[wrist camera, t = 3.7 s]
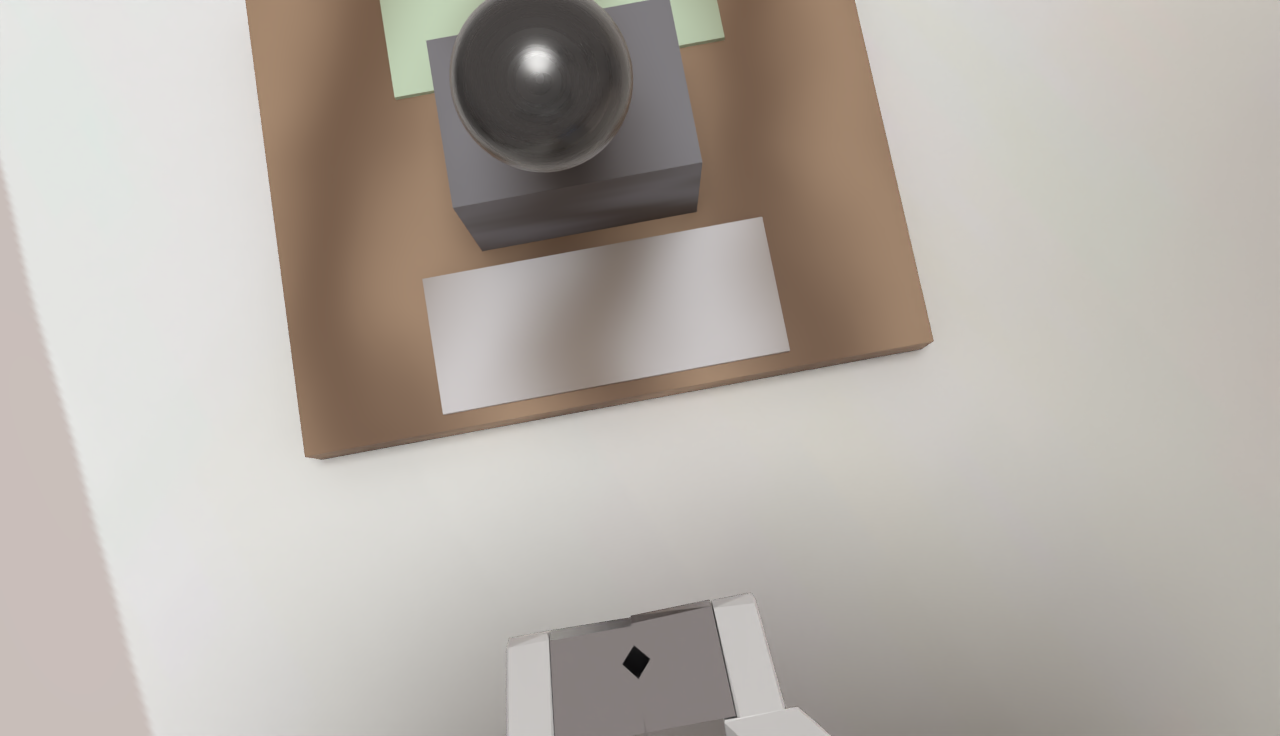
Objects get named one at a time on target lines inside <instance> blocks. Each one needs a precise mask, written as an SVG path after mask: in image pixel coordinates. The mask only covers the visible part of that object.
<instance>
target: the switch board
mask: <svg viewBox="0 0 1280 736" xmlns="http://www.w3.org/2000/svg"><path fill="white" fill-rule="evenodd" d="M245 1H246V9H247V16H248V24H249V32H250V39H251V47H252V55H253V62H254V70H255V77H256V85H257V93H258V100H259V108H260V116H261V123H262V131H263V139H264V146H265V154H266V162H267V169H268V177H269V185H270V192H271V200H272V208H273V215H274V223H275V231H276V238H277V246H278V254H279V261H280V269H281V277H282V284H283V292H284V300H285V307H286V315H287V323H288V330H289V338H290V346H291V353H292V361H293V369H294V376H295V384H296V392H297V399H298V407H299V415H300V422H301V430H302V437H303V445H304V453H305V457H309V458H315V459H327V458H332V457H338V456H343V455H349V454H354V453H359V452H365V451H370V450H376V449H381V448H387V447H392V446H397V445H403V444H408V443H414V442H419V441H425V440H430V439H435V438H441V437H446V436H452V435H457V434H463V433H468V432H473V431H479V430H484V429H490V428H495V427H501V426H506V425H511V424H517V423H522V422H528V421H533V420H539V419H544V418H549V417H555V416H560V415H566V414H571V413H577V412H582V411H587V410H593V409H598V408H604V407H609V406H615V405H620V404H625V403H631V402H636V401H642V400H647V399H652V398H658V397H663V396H669V395H674V394H680V393H685V392H690V391H696V390H701V389H707V388H712V387H718V386H723V385H728V384H734V383H739V382H745V381H750V380H756V379H761V378H766V377H772V376H777V375H783V374H788V373H794V372H799V371H804V370H810V369H815V368H821V367H826V366H832V365H837V364H842V363H848V362H853V361H859V360H864V359H870V358H875V357H880V356H886V355H891V354H897V353H902V352H908V351H913V350H918V349H922V348H923V347H925V346H927V345H928V344H930V343H931V342H933V341H934V340H933V336H932V332H931V328H930V323H929V319H928V315H927V310H926V306H925V302H924V297H923V293H922V289H921V284H920V280H919V276H918V271H917V267H916V263H915V259H914V254H913V250H912V246H911V241H910V237H909V233H908V228H907V224H906V220H905V215H904V211H903V207H902V202H901V198H900V194H899V190H898V185H897V181H896V177H895V172H894V168H893V164H892V159H891V155H890V151H889V146H888V142H887V138H886V133H885V129H884V125H883V121H882V116H881V112H880V108H879V103H878V99H877V95H876V90H875V86H874V82H873V77H872V73H871V69H870V64H869V60H868V56H867V51H866V47H865V43H864V39H863V34H862V30H861V26H860V21H859V17H858V13H857V8H856V4H855V0H594V1H595V2H596V3H597V4H598V5H599V6H601V7H602V8H603V9H604V10H605V11H606V12H607V13H608V15H609V16H610V17H611V18H612V19H613V21H614V22H615V24H616V25H617V26H618V28H619V30H620V32H621V33H622V35H623V37H624V39H625V42H626V45H627V47H628V50H629V53H630V58H631V62H632V69H633V91H632V98H631V103H630V106H629V110H628V113H627V115H626V118H625V120H624V122H623V124H622V126H621V128H620V129H619V131H618V133H617V134H616V136H615V137H614V138H613V139H612V141H611V142H610V143H609V144H608V145H607V146H606V147H605V148H604V149H603V150H602V151H601V152H600V153H598V154H597V155H596V156H594V157H593V158H591V159H590V160H588V161H586V162H584V163H583V164H581V165H578V166H576V167H573V168H570V169H566V170H562V171H557V172H549V173H545V172H531V171H524V170H521V169H517V168H514V167H511V166H509V165H507V164H505V163H502V162H501V161H499V160H497V159H496V158H494V157H492V156H491V155H490V154H488V153H487V152H486V151H485V150H483V149H482V148H481V147H480V146H479V145H478V144H477V143H476V142H475V141H474V140H473V138H472V137H471V136H470V134H469V133H468V132H467V131H466V129H465V127H464V125H463V124H462V122H461V120H460V118H459V116H458V114H457V111H456V109H455V106H454V102H453V99H452V95H451V88H450V75H449V70H450V60H451V55H452V51H453V46H454V44H455V41H456V38H457V36H458V34H459V32H460V30H461V28H462V26H463V24H464V23H465V21H466V20H467V19H468V17H469V16H470V14H471V13H472V12H473V11H474V10H475V9H476V8H477V7H478V6H479V5H480V4H481V3H482V2H484V1H485V0H245Z"/></svg>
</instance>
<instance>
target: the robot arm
mask: <svg viewBox="0 0 1280 736" xmlns="http://www.w3.org/2000/svg"><path fill="white" fill-rule="evenodd" d="M506 736H831V735H830V734H829V733H828V732H826V731H825V730H824V729H823V728H822V727H821V726H820V725H818V724H817V723H816V722H815V721H814V720H813V719H812V718H810V717H809V716H808V715H807V714H806V713H805V712H804V711H802V710H801V709H800V708H799V707H791V708H785V704H784V701H783V697H782V693H781V690H780V686H779V682H778V679H777V675H776V671H775V668H774V664H773V661H772V657H771V653H770V650H769V646H768V642H767V639H766V635H765V631H764V628H763V624H762V620H761V617H760V613H759V609H758V606H757V602H756V599H755V598H754V596H753V595H752V593H747V594H741V595H736V596H731V597H726V598H721V599H715V600H712V601H711V602H710V600H706V601H701V602H696V603H691V604H686V605H681V606H676V607H671V608H666V609H661V610H657V611H652V612H647V613H642V614H637V615H632V616H631V617H630V618H624V619H618V620H612V621H605V622H599V623H593V624H587V625H581V626H575V627H569V628H563V629H556V630H551V631H545V632H540V633H534V634H529V635H523V636H517V637H512V638H509V641H508V645H507V649H506Z"/></svg>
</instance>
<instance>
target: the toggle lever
mask: <svg viewBox="0 0 1280 736" xmlns="http://www.w3.org/2000/svg"><path fill="white" fill-rule="evenodd" d="M449 75H450V88H451V95H452V99H453V102H454V106H455V109H456V111H457V114H458V116H459V118H460V120H461V122H462V124H463V125H464V127H465V129H466V131H467V132H468V133H469V134H470V136H471V137H472V138H473V140H474V141H475V142H476V143H477V144H478V145H479V146H480V147H481V148H482V149H483V150H485V151H486V152H487V153H488V154H490V155H491V156H492V157H494V158H496V159H497V160H499V161H501V162H502V163H505V164H507V165H509V166H511V167H514V168H517V169H521V170H524V171H531V172H545V173H549V172H557V171H562V170H566V169H570V168H573V167H576V166H578V165H581V164H583V163H584V162H586V161H588V160H590V159H591V158H593V157H594V156H596V155H597V154H598V153H600V152H601V151H602V150H603V149H604V148H605V147H606V146H607V145H608V144H609V143H610V142H611V141H612V139H613V138H614V137H615V136H616V134H617V133H618V131H619V129H620V128H621V126H622V124H623V122H624V120H625V118H626V115H627V113H628V110H629V106H630V103H631V98H632V91H633V69H632V62H631V58H630V53H629V50H628V47H627V45H626V42H625V39H624V37H623V35H622V33H621V32H620V30H619V28H618V26H617V25H616V24H615V22H614V21H613V19H612V18H611V17H610V16H609V15H608V13H607V12H606V11H605V10H604V9H603V8H602V7H601V6H599V5H598V4H597V3H596V2H595V1H594V0H485V1H484V2H482V3H481V4H480V5H479V6H478V7H477V8H476V9H475V10H474V11H473V12H472V13H471V14H470V16H469V17H468V19H467V20H466V21H465V23H464V24H463V26H462V28H461V30H460V32H459V34H458V36H457V38H456V41H455V44H454V46H453V51H452V55H451V60H450V70H449Z"/></svg>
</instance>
